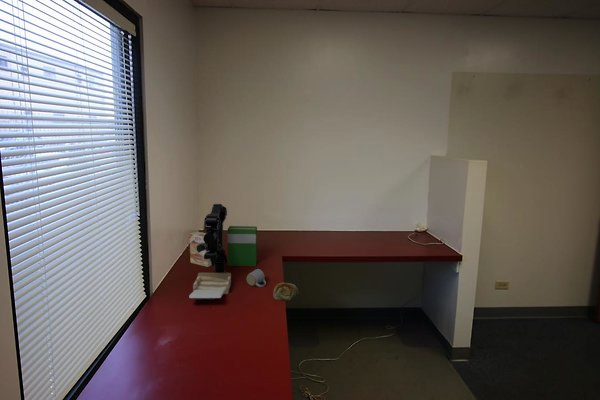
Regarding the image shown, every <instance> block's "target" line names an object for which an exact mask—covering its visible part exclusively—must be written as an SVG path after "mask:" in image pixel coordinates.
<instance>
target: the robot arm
mask: <svg viewBox="0 0 600 400" xmlns="http://www.w3.org/2000/svg"><path fill="white" fill-rule="evenodd" d="M212 204H213V203H212ZM227 216H228V209H227V207H226V206H224V205H223V204H221V203H214V204H213V205H212V208H211V211H210V213H209V214H207V215H206V216H205V217H204V220H203V221H204V223H203V231H206V232H205V233H206V234H205V235H204V238H203V240H204V242H205V243H202V244H199V245H197V247H196V248H197V249H196V250H197V251H198V252H201V251H204V250H206V251H209V252H206V253H205V254H204V259H210V261H211V264H212V265H211V266H212V267H214V270H212V272H211V273H228V272H227V271H226V270H225V265H226V264H228V255H227V254H226V250H225V249H224V246H223V245H224V243H223V242H224V241H223V240H224V222H225V221H226V219H227Z"/></svg>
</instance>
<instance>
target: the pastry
mask: <svg viewBox="0 0 600 400" xmlns="http://www.w3.org/2000/svg"><path fill="white" fill-rule="evenodd" d="M297 295H299V288H298V287H297V285H295V284H293V283H290V282H280V283H277V284H276V285H275V286H274V289H273V294H272V296H273V299H274V300H276V301H291V300H293V299H294V298H295V297H296V296H297Z"/></svg>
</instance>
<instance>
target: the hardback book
mask: <svg viewBox="0 0 600 400" xmlns="http://www.w3.org/2000/svg"><path fill="white" fill-rule="evenodd" d="M257 263H258V226H253V225H252V226H248V225H247V226H245V225H244V226H242V225H235V226H234V225H229V226H228V228H227V266H231V267H232V266H235V267H236V266H238V267H241V266H242V267H245V266H246V267H247V266H248V267H256V266H257Z"/></svg>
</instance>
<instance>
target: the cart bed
mask: <svg viewBox="0 0 600 400" xmlns="http://www.w3.org/2000/svg"><path fill="white" fill-rule="evenodd" d="M231 286H232V273H231V272H227V273H213V272H198V273H197V277H196V279H195V281H194V283H193V284H192V292H193V291H195V290H224V293H223V295H229V293H230V289H231Z"/></svg>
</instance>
